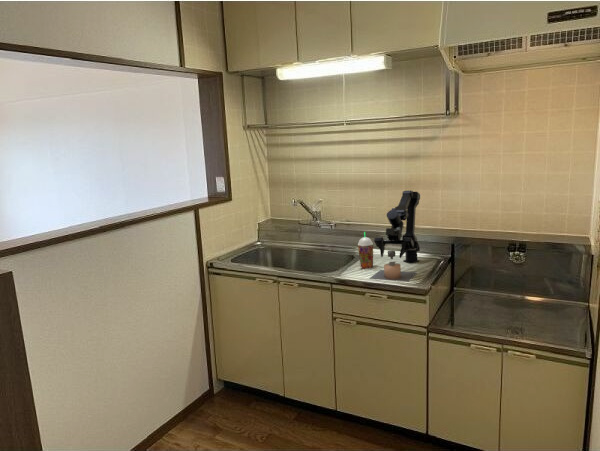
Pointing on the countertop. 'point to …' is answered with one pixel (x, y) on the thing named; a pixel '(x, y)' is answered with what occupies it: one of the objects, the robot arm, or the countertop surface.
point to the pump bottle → (392, 270)
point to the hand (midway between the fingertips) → (390, 257)
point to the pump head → (391, 254)
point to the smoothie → (365, 252)
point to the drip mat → (404, 277)
